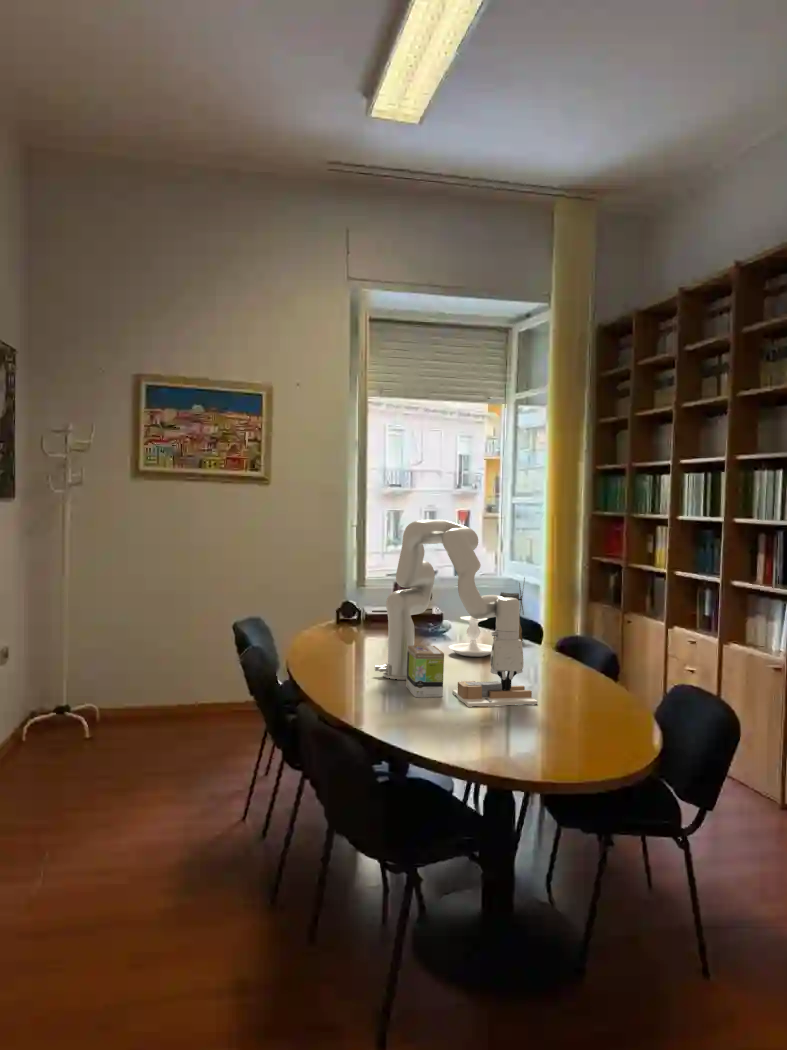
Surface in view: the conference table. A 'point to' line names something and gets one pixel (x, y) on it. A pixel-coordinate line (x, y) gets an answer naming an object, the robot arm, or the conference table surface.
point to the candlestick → (472, 641)
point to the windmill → (516, 595)
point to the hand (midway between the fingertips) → (506, 690)
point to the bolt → (486, 686)
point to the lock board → (493, 696)
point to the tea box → (425, 671)
